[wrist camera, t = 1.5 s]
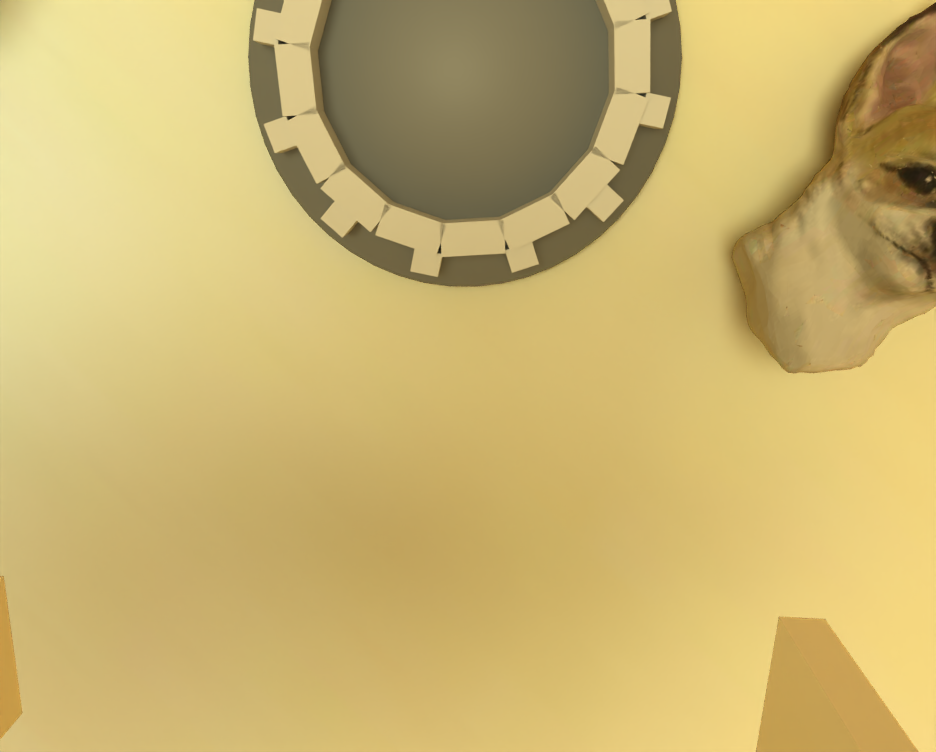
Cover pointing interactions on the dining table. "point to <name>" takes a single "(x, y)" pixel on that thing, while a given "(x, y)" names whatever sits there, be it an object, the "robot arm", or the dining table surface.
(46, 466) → the dining table surface
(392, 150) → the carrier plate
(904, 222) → the ceramic sculpture
